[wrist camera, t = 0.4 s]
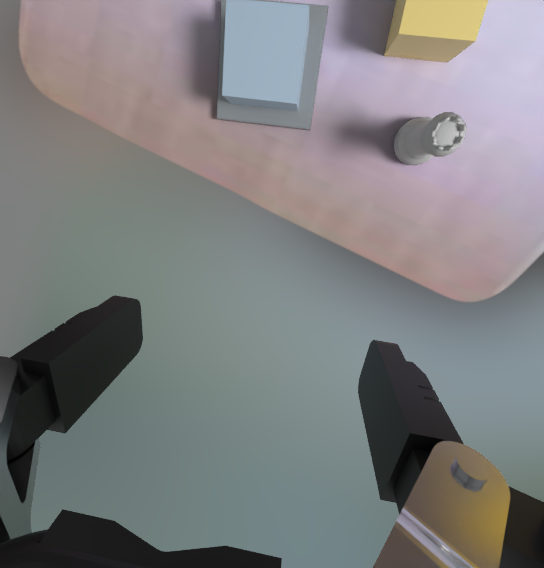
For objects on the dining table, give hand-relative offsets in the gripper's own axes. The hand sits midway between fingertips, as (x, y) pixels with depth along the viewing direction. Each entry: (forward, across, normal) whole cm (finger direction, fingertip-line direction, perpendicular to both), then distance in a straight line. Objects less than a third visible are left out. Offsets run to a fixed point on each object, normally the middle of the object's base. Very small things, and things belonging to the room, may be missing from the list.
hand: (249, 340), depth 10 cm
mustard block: (+27, -10, -19) cm, 34 cm away
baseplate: (+27, +4, -14) cm, 31 cm away
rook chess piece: (+27, -12, -9) cm, 31 cm away
